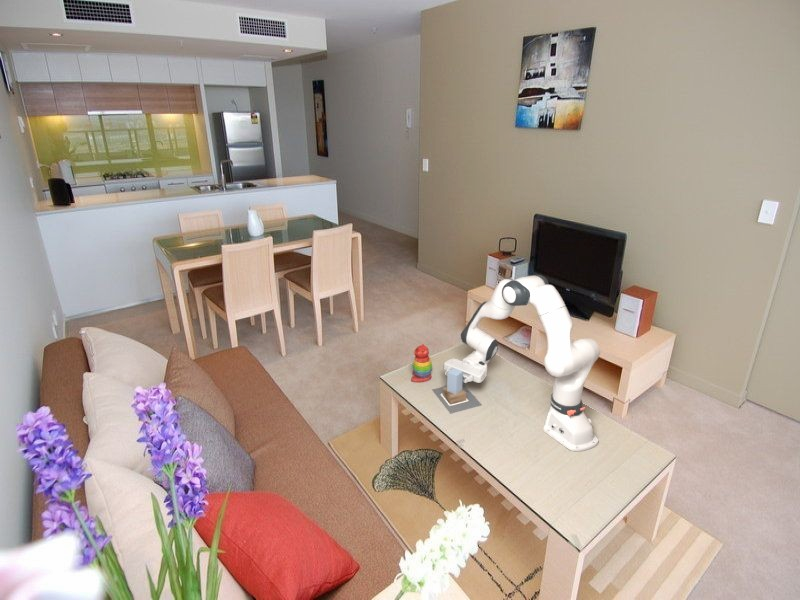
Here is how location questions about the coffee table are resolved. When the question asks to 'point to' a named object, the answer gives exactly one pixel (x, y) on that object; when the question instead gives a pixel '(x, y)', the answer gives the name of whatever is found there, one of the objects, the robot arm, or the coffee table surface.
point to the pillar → (454, 381)
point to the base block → (454, 396)
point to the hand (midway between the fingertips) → (455, 377)
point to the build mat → (459, 406)
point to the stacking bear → (421, 365)
